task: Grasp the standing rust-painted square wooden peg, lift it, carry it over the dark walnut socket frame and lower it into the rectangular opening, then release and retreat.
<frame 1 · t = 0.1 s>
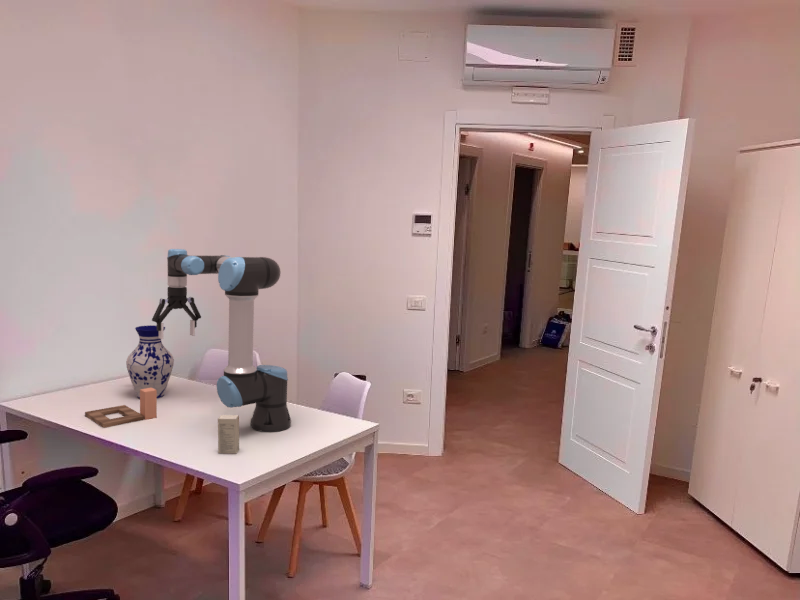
hand: (177, 337, 251), 28 cm above the table, fingers open, 13 cm apart
vase: (150, 396, 261), on the table
skincare box: (228, 452, 203), on the table
socket frame: (114, 417, 231), on the table
peg: (148, 417, 234), on the table
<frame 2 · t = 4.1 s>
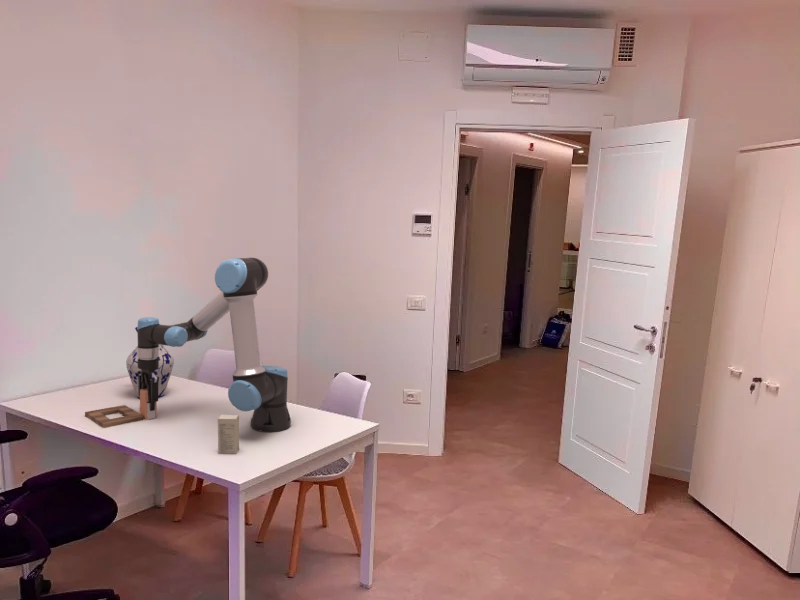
hand: (148, 416, 234), 0 cm above the table, fingers closed on peg, 4 cm apart
peg: (148, 417, 234), on the table, touching gripper
everything else where it was.
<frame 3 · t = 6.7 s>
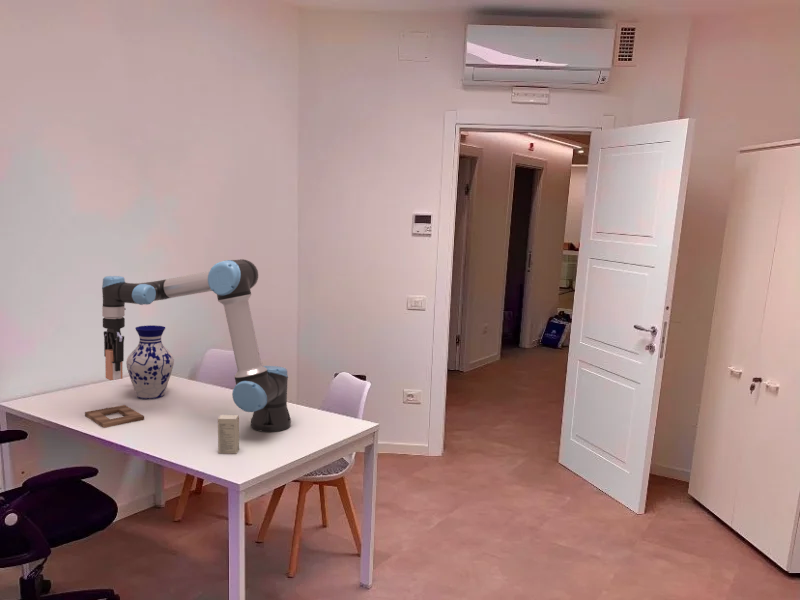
hand: (113, 377, 229), 16 cm above the table, fingers closed on peg, 4 cm apart
peg: (114, 378, 229), point 16 cm above the table, touching gripper
everything else where it was.
when the fingers open (2 cm above the table, at t = 9.3 s): peg drops 2 cm, resting in socket frame.
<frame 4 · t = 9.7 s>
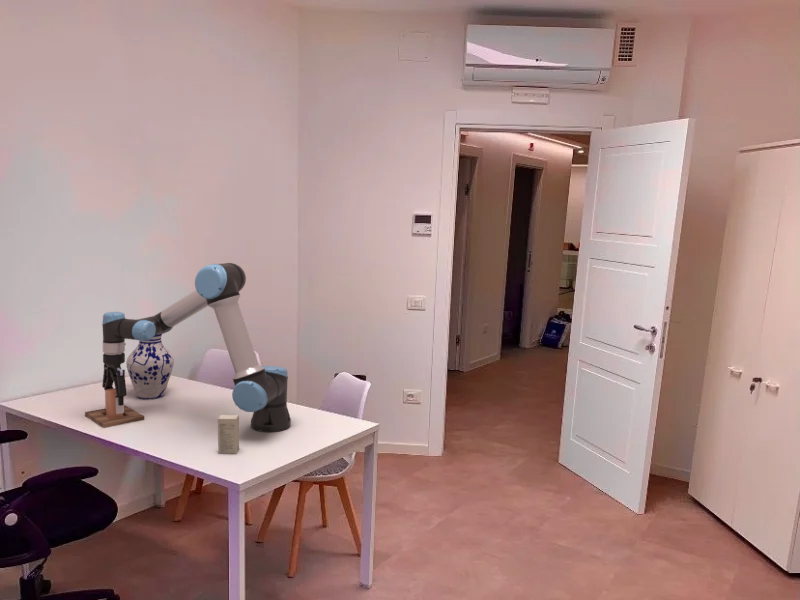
hand: (114, 409, 231), 3 cm above the table, fingers open, 9 cm apart
peg: (114, 417, 231), resting in socket frame
everything else where it was.
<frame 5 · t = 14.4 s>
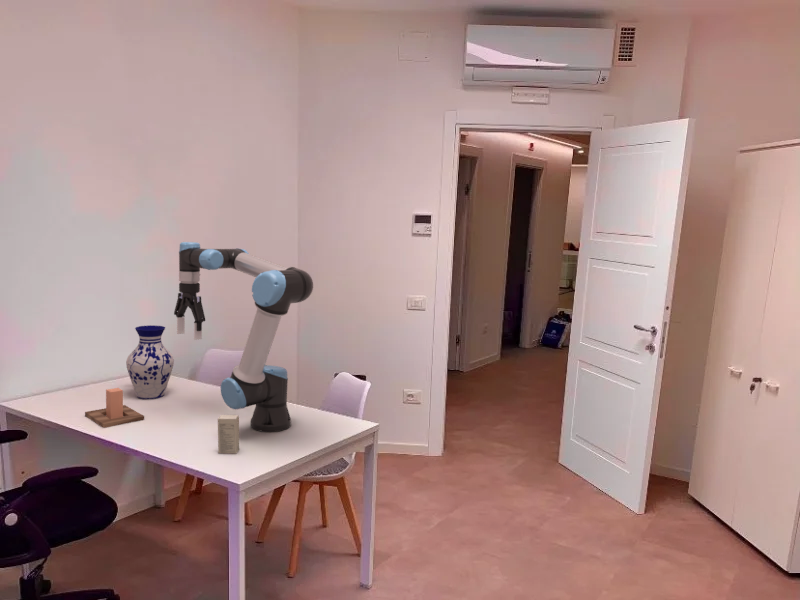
hand: (189, 336, 234), 32 cm above the table, fingers open, 13 cm apart
nothing on the table moved.
at the end: peg inside the target area on the socket frame (0.0 cm from its centre), point 0.0 cm above the socket frame's base; peg tilted 0°; the gripper is holding nothing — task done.
